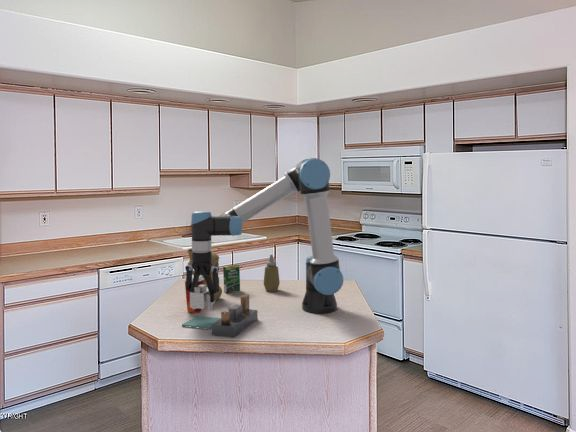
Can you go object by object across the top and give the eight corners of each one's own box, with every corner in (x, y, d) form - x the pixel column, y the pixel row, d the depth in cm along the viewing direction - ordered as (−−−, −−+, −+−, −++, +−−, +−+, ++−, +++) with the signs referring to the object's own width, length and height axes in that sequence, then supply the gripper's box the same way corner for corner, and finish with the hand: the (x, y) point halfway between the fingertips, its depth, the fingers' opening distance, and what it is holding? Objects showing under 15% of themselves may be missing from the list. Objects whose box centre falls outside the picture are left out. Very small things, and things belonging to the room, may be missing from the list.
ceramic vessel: (231, 297, 229) (230, 245, 226) (202, 307, 213) (200, 251, 210) (204, 292, 238) (203, 242, 236) (174, 302, 222) (173, 248, 220)
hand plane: (257, 319, 195) (257, 295, 194) (234, 337, 174) (233, 310, 173) (237, 317, 198) (236, 293, 197) (211, 335, 177) (211, 308, 176)
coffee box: (226, 293, 237) (225, 266, 236) (223, 292, 239) (222, 266, 238) (240, 291, 241) (240, 265, 240) (237, 289, 244) (237, 264, 243)
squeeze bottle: (270, 287, 248) (270, 253, 246) (283, 290, 243) (282, 254, 241) (260, 290, 242) (259, 255, 240) (272, 293, 236) (272, 257, 235)
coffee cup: (205, 308, 212) (204, 274, 211) (202, 313, 204) (202, 278, 202) (186, 308, 212) (185, 274, 210) (182, 313, 204) (181, 278, 202)
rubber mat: (223, 320, 194) (223, 318, 194) (209, 329, 183) (209, 327, 183) (197, 317, 198) (197, 315, 198) (181, 326, 187) (181, 324, 187)
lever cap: (214, 302, 193) (214, 283, 192) (203, 309, 185) (203, 288, 184) (201, 301, 195) (201, 282, 194) (189, 307, 187) (189, 287, 186)
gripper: (228, 250, 188) (228, 309, 191) (185, 248, 195) (186, 304, 197) (219, 254, 181) (220, 314, 184) (175, 251, 187) (176, 309, 190)
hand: (202, 309), depth 190 cm, fingers closed on lever cap, 6 cm apart
